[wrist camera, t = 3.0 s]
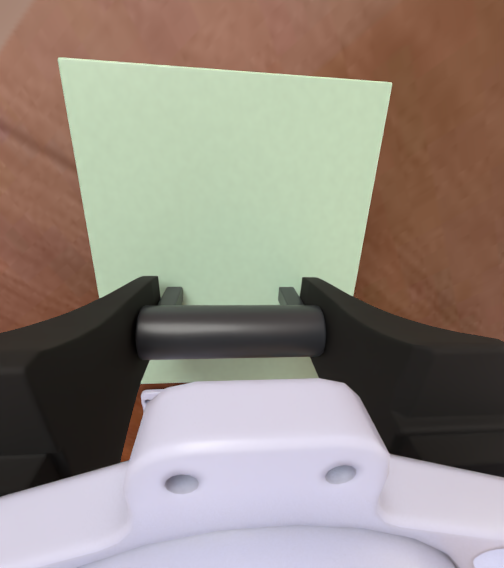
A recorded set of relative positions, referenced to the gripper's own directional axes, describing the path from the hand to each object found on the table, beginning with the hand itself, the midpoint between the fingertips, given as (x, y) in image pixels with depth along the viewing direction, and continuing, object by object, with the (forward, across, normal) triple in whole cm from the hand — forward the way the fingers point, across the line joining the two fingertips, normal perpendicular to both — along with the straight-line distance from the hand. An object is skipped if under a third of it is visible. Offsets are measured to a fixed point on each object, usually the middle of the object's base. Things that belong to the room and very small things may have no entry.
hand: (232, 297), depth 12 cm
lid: (+2, 0, -1) cm, 2 cm away
